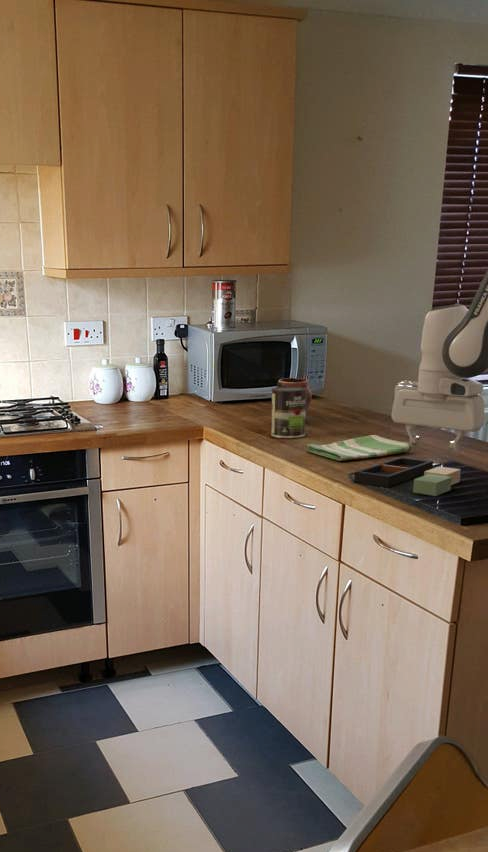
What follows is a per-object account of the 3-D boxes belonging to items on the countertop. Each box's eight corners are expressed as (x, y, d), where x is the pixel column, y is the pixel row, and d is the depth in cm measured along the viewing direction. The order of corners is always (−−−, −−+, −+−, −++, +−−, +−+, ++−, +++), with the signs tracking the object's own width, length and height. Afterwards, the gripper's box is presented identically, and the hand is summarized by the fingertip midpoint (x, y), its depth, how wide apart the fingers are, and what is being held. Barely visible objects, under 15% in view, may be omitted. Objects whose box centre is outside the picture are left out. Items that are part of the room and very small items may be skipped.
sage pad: (450, 490, 196) (451, 477, 195) (435, 496, 191) (436, 482, 190) (428, 486, 199) (429, 473, 198) (412, 492, 195) (413, 479, 194)
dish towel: (304, 451, 242) (305, 441, 241) (375, 443, 250) (375, 433, 249) (341, 463, 226) (341, 452, 225) (415, 453, 234) (416, 443, 233)
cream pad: (459, 481, 203) (460, 469, 202) (445, 487, 198) (446, 474, 197) (437, 478, 207) (438, 466, 206) (423, 484, 202) (424, 471, 201)
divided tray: (432, 471, 214) (433, 461, 213) (388, 487, 200) (388, 476, 199) (399, 466, 220) (400, 456, 219) (354, 482, 206) (354, 471, 205)
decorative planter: (320, 426, 279) (321, 382, 274) (283, 428, 277) (284, 383, 272) (300, 416, 298) (301, 375, 293) (265, 418, 296) (265, 377, 291)
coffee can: (311, 436, 263) (313, 388, 258) (282, 439, 259) (283, 391, 254) (293, 431, 272) (294, 385, 267) (264, 434, 268) (265, 387, 263)
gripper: (388, 381, 192) (384, 443, 197) (477, 389, 179) (470, 455, 184) (403, 378, 197) (398, 439, 201) (491, 385, 183) (483, 450, 188)
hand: (433, 447), depth 192 cm, fingers open, 8 cm apart
